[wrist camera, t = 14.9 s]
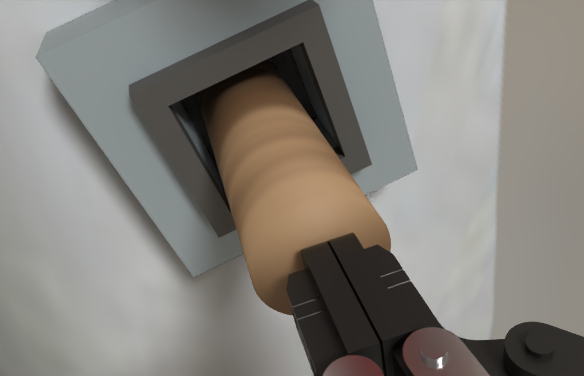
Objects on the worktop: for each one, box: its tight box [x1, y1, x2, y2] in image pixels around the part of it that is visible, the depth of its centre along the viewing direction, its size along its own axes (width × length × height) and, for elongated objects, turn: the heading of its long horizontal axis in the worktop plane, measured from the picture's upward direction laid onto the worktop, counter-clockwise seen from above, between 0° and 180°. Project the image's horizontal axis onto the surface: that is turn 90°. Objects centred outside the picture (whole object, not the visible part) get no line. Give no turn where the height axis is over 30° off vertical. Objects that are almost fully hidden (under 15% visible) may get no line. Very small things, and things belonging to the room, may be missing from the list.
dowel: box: [199, 60, 391, 315], centre depth 19 cm, size 4×4×12 cm
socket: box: [36, 0, 418, 277], centre depth 22 cm, size 12×12×4 cm
